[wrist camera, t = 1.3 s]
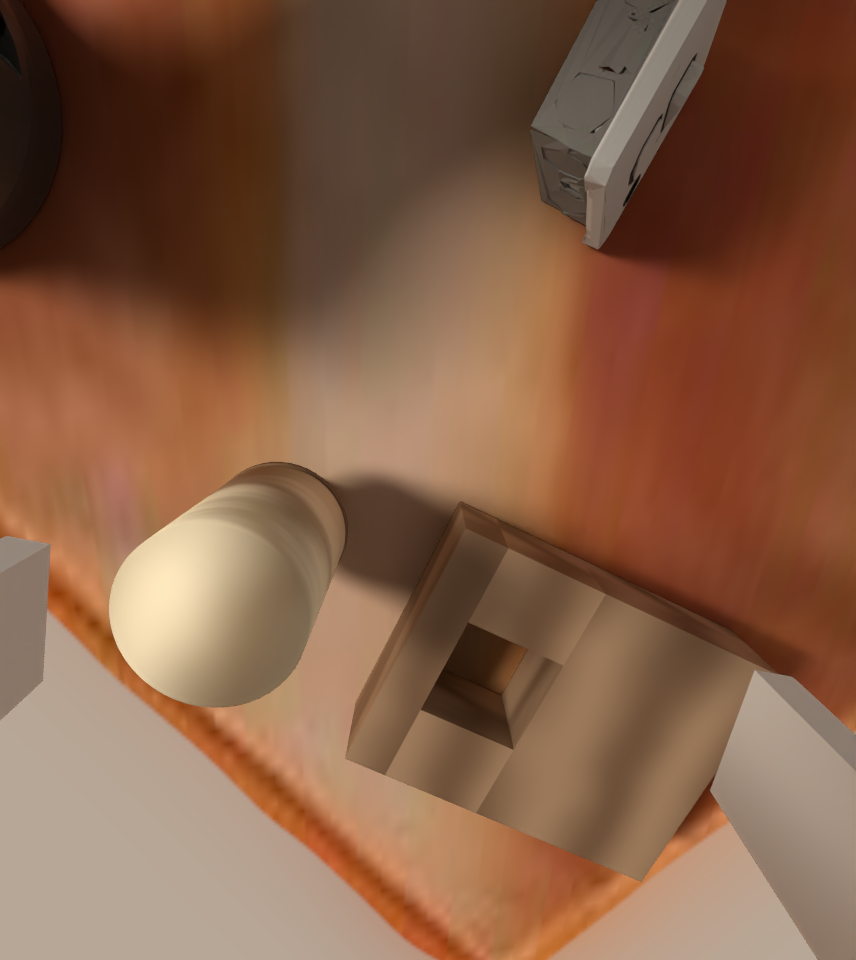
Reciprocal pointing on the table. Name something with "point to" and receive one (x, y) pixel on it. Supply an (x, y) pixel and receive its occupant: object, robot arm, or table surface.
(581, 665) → the board
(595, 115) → the electrical switch
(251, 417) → the table surface
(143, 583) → the leg peg
